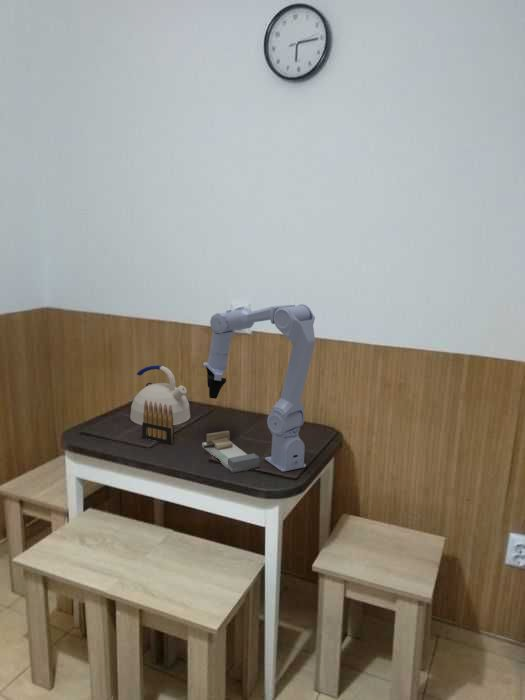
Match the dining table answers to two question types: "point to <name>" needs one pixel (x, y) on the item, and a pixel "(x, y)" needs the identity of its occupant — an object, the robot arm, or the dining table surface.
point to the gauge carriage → (218, 440)
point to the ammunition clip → (158, 423)
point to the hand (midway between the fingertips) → (211, 392)
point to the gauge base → (234, 458)
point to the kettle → (161, 398)
